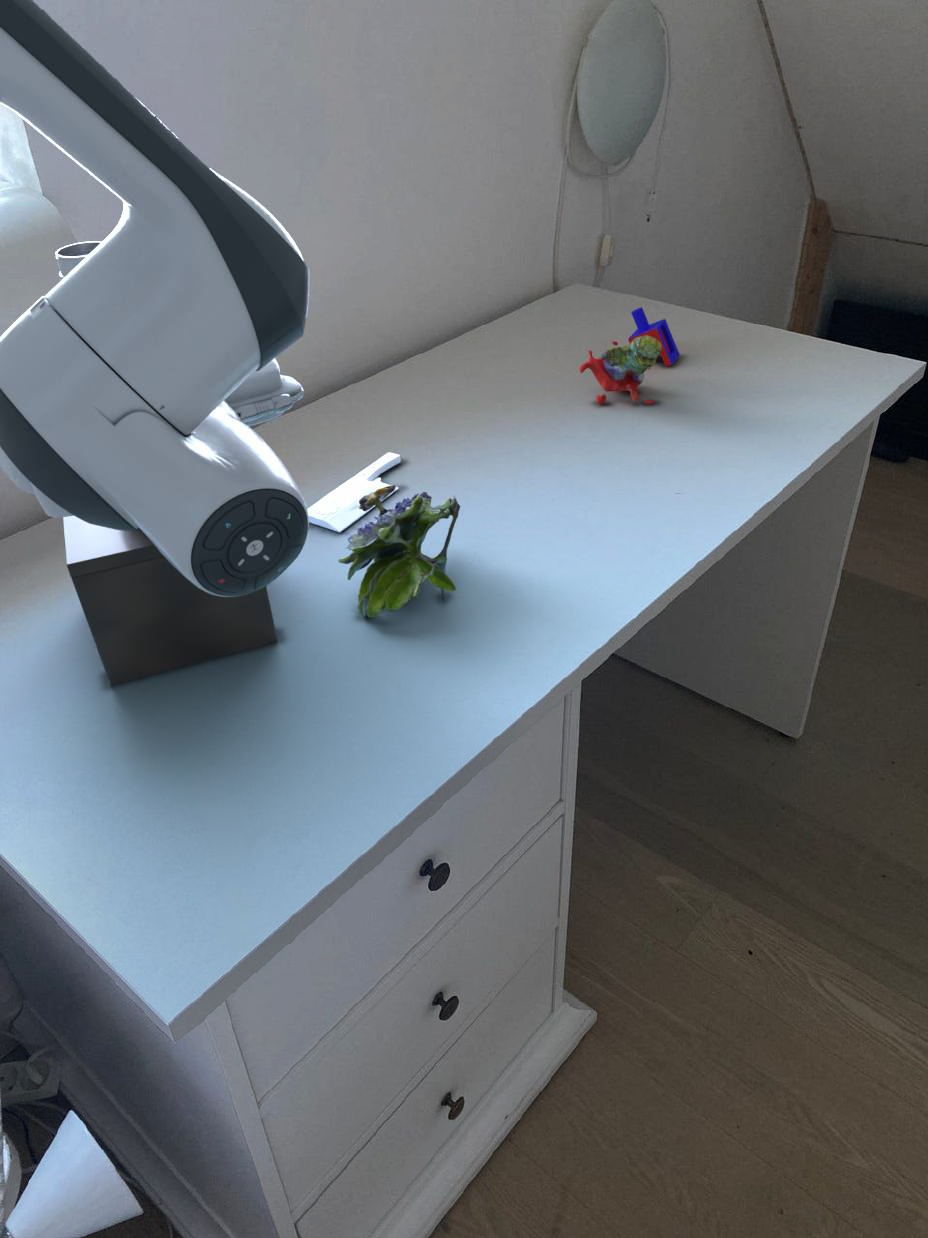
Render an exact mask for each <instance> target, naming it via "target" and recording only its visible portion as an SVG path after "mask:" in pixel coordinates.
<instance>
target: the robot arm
mask: <svg viewBox="0 0 928 1238" xmlns="http://www.w3.org/2000/svg"><path fill="white" fill-rule="evenodd" d="M0 104H1V105H3V106H4V107H6V108H7V109H10V110H11V111H13V112H14V113H15V114H17V115H18V116H19V117H20V118H21V119H23V120H24V121H25V122H26V123H28V124H29V125H30V126H31V127H33V128H34V129H35V131H37V132H38V133H40V134H41V135H42V136H44V138H46V139H47V140H48V141H49V142H51V144H53V145H54V146H55V147H57V148H58V149H59V150H61V152H63V153H64V154H66V155H67V157H69V158H70V159H72V160H73V161H74V162H75V163H76V164H77V165H79V167H81V168H82V169H84V170H85V171H86V172H87V173H89V174H90V176H92V177H93V178H95V179H96V180H97V181H98V182H100V183H101V184H102V185H103V186H105V188H107V189H108V190H109V191H110V192H112V193H113V194H114V195H116V197H118V198H119V199H120V200H121V201H122V203H123V210H122V214H121V217H120V219H119V221H118V223H117V225H115V228H114V229H113V230H112V231H111V233H110V234H109V235H108V236H107V237H105V239H104V240H102V241H101V242H102V243H101V244H100V245H99V246H97V247H96V248H95V249H94V250H93V251H92V252H91V253H90V254H89V255H88V256H87V257H86V258H85V259H84V260H83V261H82V262H81V263H80V264H79V265H77V266H76V267H75V268H74V269H73V270H72V271H71V272H70V273H69V274H68V275H67V276H66V277H65V278H64V279H63V280H62V281H61V280H60V281H59V282H58V283H57V284H56V285H55V286H54V287H53V288H52V289H51V290H49V292H48V293H47V294H45V296H44V295H42V296H41V297H40V298H39V299H38V300H37V301H35V302H34V303H33V305H31V306H30V307H29V308H28V309H27V310H26V311H25V312H24V313H23V314H22V315H21V316H20V317H18V318H17V319H16V321H14V322H13V323H12V324H11V325H10V326H9V327H8V328H7V329H6V330H5V331H4V332H3V333H1V335H0V468H1V469H2V470H3V472H4V473H5V474H6V476H7V477H8V478H9V479H10V480H11V482H13V483H14V484H15V486H16V487H18V488H19V489H21V490H22V491H25V492H27V493H30V494H34V495H35V496H36V498H37V500H38V502H39V504H40V506H41V508H42V509H43V511H44V513H45V514H46V515H47V516H48V517H50V518H57V519H58V518H63V517H69V516H76V517H77V518H79V519H81V520H83V521H85V522H87V523H89V524H92V525H97V526H102V527H106V528H111V529H115V530H123V531H137V529H138V528H140V529H141V530H142V531H143V532H144V534H145V535H146V536H147V537H148V538H149V539H150V540H151V541H152V543H153V544H154V545H155V546H156V548H157V549H158V550H159V551H160V552H161V553H162V555H163V556H164V557H165V558H166V559H167V560H168V561H169V562H170V563H171V564H172V565H173V566H174V567H175V568H176V569H177V570H178V571H179V572H180V573H181V574H182V575H183V576H184V577H186V578H187V579H188V580H189V581H190V582H191V583H193V584H194V585H195V586H197V587H198V588H200V589H201V590H203V591H205V592H207V593H209V594H212V595H215V596H221V597H235V596H242V595H246V594H249V593H252V592H255V591H258V590H260V589H262V588H264V587H265V586H266V587H267V586H269V585H270V584H272V583H273V582H274V581H275V580H276V579H278V578H279V577H280V576H281V575H282V574H283V573H284V572H285V571H286V570H287V569H288V568H289V567H290V566H291V565H292V564H293V563H294V562H295V561H296V559H297V558H298V557H299V555H300V554H301V552H302V551H303V548H304V546H305V544H306V540H307V537H308V532H309V527H310V522H309V515H308V510H307V509H308V507H307V504H306V501H305V499H304V497H303V494H302V492H301V490H300V488H299V487H298V485H297V483H296V481H295V480H294V479H293V477H292V475H291V473H290V471H289V469H287V468H286V466H285V464H284V463H283V462H282V460H281V459H280V457H278V455H277V454H276V453H275V451H274V450H273V449H272V448H271V447H270V446H269V444H268V443H267V442H266V441H265V440H264V439H263V438H262V437H261V435H259V434H258V433H257V431H255V429H253V428H251V427H253V426H256V425H259V424H263V423H266V422H269V421H272V420H274V419H277V418H278V417H281V415H283V413H284V412H285V411H288V410H290V409H291V408H293V404H294V403H296V402H297V401H299V400H302V399H303V397H304V392H305V391H304V388H303V387H302V385H301V383H300V382H298V381H297V380H296V379H295V378H293V377H292V376H289V375H282V374H281V370H280V366H279V363H278V361H277V360H276V358H277V357H278V356H279V355H281V354H282V353H283V352H285V351H286V350H288V348H290V347H291V346H292V345H294V344H295V343H296V342H297V341H298V340H300V339H301V338H302V337H303V336H304V333H305V329H306V324H307V319H308V318H307V317H308V313H309V311H308V310H309V301H310V286H311V285H310V283H311V282H310V279H311V278H310V268H309V265H308V264H307V263H306V262H305V261H304V258H303V256H302V253H301V251H300V249H299V248H298V246H297V244H296V242H295V241H294V239H293V237H292V236H291V235H290V234H289V232H288V231H287V230H286V229H285V227H284V226H283V225H282V224H281V223H280V222H279V221H278V220H277V219H276V217H275V216H274V215H273V214H272V213H271V212H270V211H269V210H268V209H267V208H265V207H264V206H263V205H262V204H261V203H260V202H259V201H257V199H255V198H254V197H253V196H252V195H250V194H248V193H247V192H246V191H245V190H243V189H241V188H240V187H239V186H238V185H236V184H234V183H233V182H231V181H230V180H228V179H227V178H225V177H224V176H222V175H220V174H219V173H218V172H216V171H214V170H213V169H212V168H210V167H209V166H208V165H207V164H205V163H204V162H203V161H202V160H201V159H200V157H198V155H196V154H195V153H194V152H193V151H192V150H191V149H189V147H188V146H186V145H185V144H184V143H183V142H182V141H181V140H180V139H179V137H177V136H176V134H175V133H174V132H172V131H171V130H170V129H169V128H168V126H167V125H165V123H164V122H162V121H161V120H160V119H159V118H158V116H156V115H155V114H154V113H153V112H152V111H150V109H149V108H148V107H147V106H145V104H144V103H142V101H140V100H139V99H138V98H137V97H136V96H135V95H134V94H133V93H132V92H131V91H130V90H129V89H128V88H127V87H126V86H124V85H123V84H122V83H121V82H120V80H119V79H117V78H116V77H115V76H114V75H113V74H112V73H111V72H110V71H109V70H108V69H107V68H106V67H105V66H103V64H100V63H99V62H98V60H97V59H96V58H95V56H93V55H92V54H91V53H90V52H89V51H88V50H87V49H86V48H85V47H83V45H82V44H81V43H80V42H78V40H76V38H74V37H72V35H71V34H70V33H69V32H68V31H67V30H66V29H65V28H64V27H63V26H62V25H60V24H59V23H58V22H57V20H55V18H53V17H52V16H51V15H50V14H49V13H48V12H47V11H46V10H45V9H44V8H43V7H42V6H41V5H39V4H38V2H36V1H35V0H0Z"/></svg>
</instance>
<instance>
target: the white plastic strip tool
mask: <svg viewBox="0 0 928 1238" xmlns="http://www.w3.org/2000/svg"><path fill="white" fill-rule="evenodd" d="M401 462H402V460H401V455H400V454H397V453H394V452H390V451H389V452H387V453H385V454H384V455H383V456H381V457H380V458H378V459H377V460H376V461H374V462H372V463H371V464H370V465H368V466H367V467H365V468H364V469H362V470H361V471H360V472H358V473H357V474H355V475H354V476H353V477H351V478H349V479H348V480H346V481H345V482H343V483H342V484H341V485H339V486H337V487H336V488H334V489H333V490H332V491H330V492H329V493H327V494H326V495H324V496H323V497H321V498H320V499H319V500H318V501H317V502H315V503H314V504H312V505H311V506H309V507H307V510H308V515H309V524H313V525H316V526H320V527H321V528H325V529H327V530H331V531H334V532H337V533H341V532H342V531H344V530H345V529H347V528H348V527H350V526H351V525H352V524H353V523H355V522H356V521H358V520H359V519H360V518H361V517H363V516H364V515H365V514H367V513H368V512H370V511H371V510H372V509H373V508H375V507H376V506H375V505H374V506H373V507H372V508H370V509H369V510H367V511H363V510H362V509H359V508H358V507H359V506H360V504H359V500H360V499H361V498H362V497H364V496H365V495H369V494H370V493H371V492H373V493H374V492H375V491H376V490H377V489H380V488H384V487H387V486H391V485H392V484H388V483H386V482H382V479H381V477H379V476H381V474H383V473H385V472H386V471H388V470H390V469H391V468H392V467H394V466H396V465H398V464H400V463H401ZM398 490H399V487H398V486H396V489H395V490H394V491H393V492H392V493H390V494H389V495H388V496H387V497H386V498H384V499H383V500H381V502H383V501H384V500H385V499H387V498H389V497H390V496H391V495H392V494H393V493H395V492H396V491H398Z"/></svg>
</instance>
